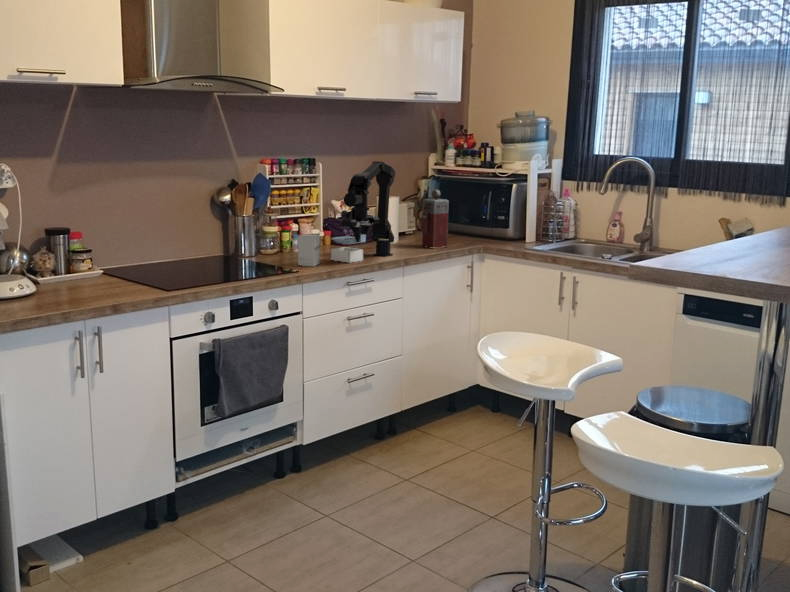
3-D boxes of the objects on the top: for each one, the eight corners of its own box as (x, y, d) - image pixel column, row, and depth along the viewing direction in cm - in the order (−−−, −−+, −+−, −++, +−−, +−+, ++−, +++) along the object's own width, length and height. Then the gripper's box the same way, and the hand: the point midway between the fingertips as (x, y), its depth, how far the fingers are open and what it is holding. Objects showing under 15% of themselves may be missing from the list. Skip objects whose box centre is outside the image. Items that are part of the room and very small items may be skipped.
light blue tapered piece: (331, 242, 345) (331, 232, 344) (345, 240, 352) (345, 230, 351) (356, 245, 336) (356, 235, 335) (370, 243, 343) (370, 233, 342)
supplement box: (314, 266, 331) (314, 236, 329) (297, 265, 333) (297, 235, 330) (319, 263, 338) (319, 234, 336) (303, 263, 340) (302, 233, 337)
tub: (330, 260, 347) (330, 249, 346) (344, 258, 354) (344, 246, 353) (349, 263, 340) (349, 251, 339) (363, 260, 347) (363, 249, 346)
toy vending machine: (418, 247, 391) (419, 189, 385) (436, 245, 397) (437, 188, 391) (429, 249, 384) (431, 190, 378) (447, 247, 390) (449, 190, 384)
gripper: (361, 202, 349) (361, 237, 352) (331, 205, 335) (331, 241, 338) (380, 204, 342) (380, 240, 345) (350, 206, 328) (350, 244, 331)
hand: (360, 241), depth 340 cm, fingers closed on light blue tapered piece, 3 cm apart
